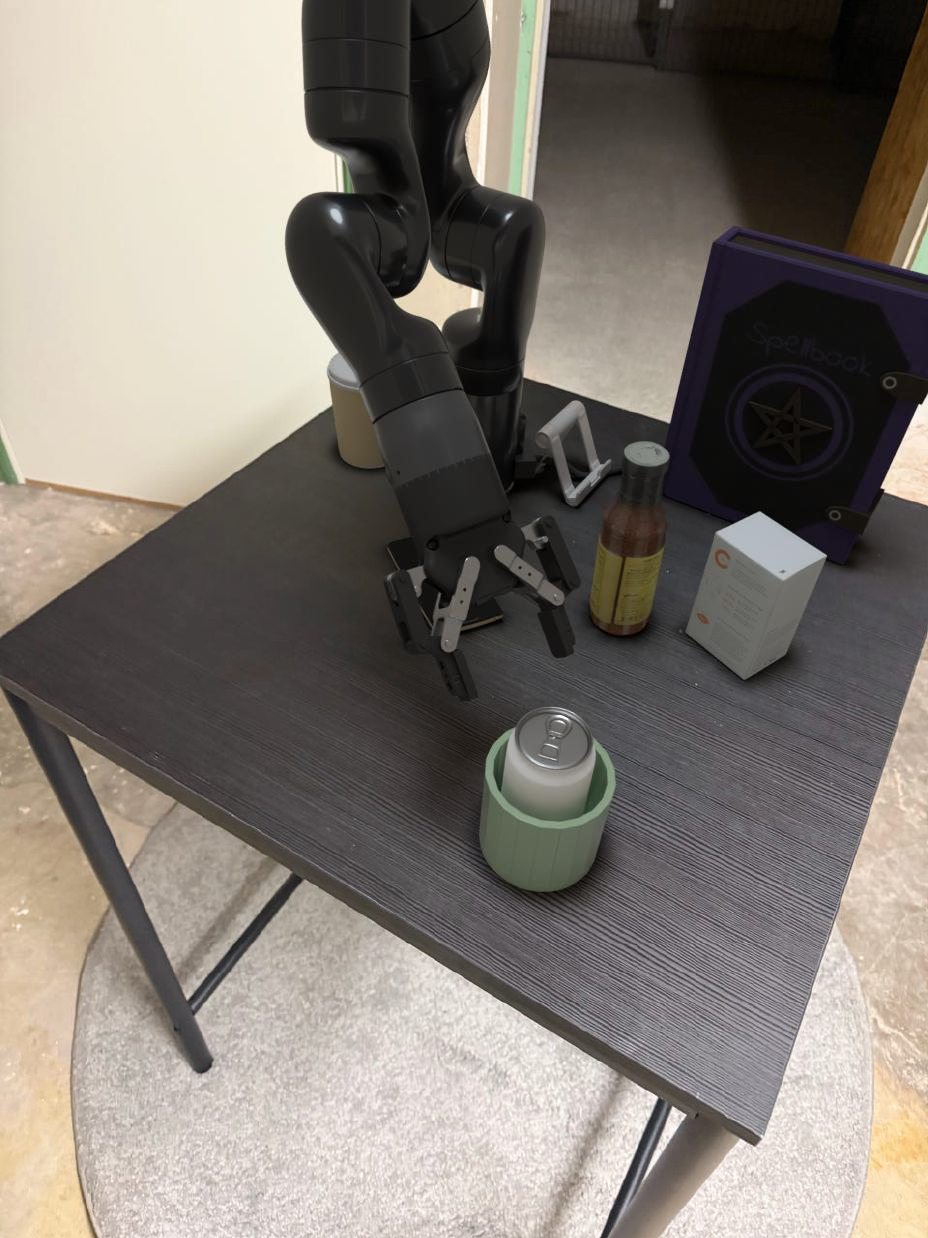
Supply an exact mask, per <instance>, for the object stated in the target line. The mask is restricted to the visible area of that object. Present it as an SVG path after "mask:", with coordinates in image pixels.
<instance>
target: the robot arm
mask: <svg viewBox="0 0 928 1238" xmlns="http://www.w3.org/2000/svg"><path fill="white" fill-rule="evenodd" d="M300 19H301V23H300V24H301V25H300V26H301V28H300V29H301V54H302V56H301V57H302V82H303V83H302V84H303V92H304V93H303V107H304V121H305V127H306V131H307V134H308V136H309V138H310V139H311V141H312V142H313V143H314V144H315V145H316V146H318V147H320V148H321V149H324V150H326V151H327V152H330V153H333V154H335V155H336V156H338V157H339V158H340V159H341V160H343V162H344V163H345V166H346V169H347V172H348V175H349V180H350V182H351V187H352V190H353V192H344V191H318V192H313V193H310V194H308V195H306V196H304V197H302V198H301V199H300V200H299V201H298V202H297V203H296V204H295V205H294V206H293V208H292V210H291V211H290V213H289V215H288V218H287V222H286V225H285V230H284V231H285V232H284V252H285V258H286V264H287V268H288V271H289V274H290V276H291V279H292V281H293V284H294V285H295V288H296V290H297V292H298V294H299V296H300V297H301V300H303V302H304V304H305V305H306V306H307V308H308V310H309V311H310V313H311V314H312V316H313V317H314V318H315V320H316V321H317V323H318V324H319V326H320V328H321V329H322V330H323V332H324V333H325V335H326V336H327V337H328V339H329V341H330V343H332V346H333V347H334V348H335V350H336V351H337V353H338V352H339V354H340V355H341V356H342V357H343V359H344V360H345V361H346V363H347V364H348V366H349V367H350V368H351V370H352V372H353V374H354V376H355V379H356V381H357V384H358V387H359V389H360V392H361V395H362V398H363V400H364V403H365V406H366V408H367V411H368V414H369V416H370V419H371V422H372V424H373V427H374V431H375V434H376V438H377V442H378V447H379V451H380V455H381V458H382V461H383V464H384V469H385V475H386V479H387V481H388V483H389V484H390V486H391V487H392V490H393V493H394V496H395V498H396V501H397V504H398V506H399V509H400V511H401V514H402V517H403V519H404V522H405V525H406V528H407V530H408V532H409V536H410V537H411V538H412V541H413V543H414V545H415V547H416V549H417V551H418V554H419V567H416V568H413V569H410V570H398V569H397V570H396V571H393V572H391V573H388V574H386V575H385V576H384V577H383V579H382V584H383V587H384V591H385V593H386V596H387V600H388V604H389V606H390V611H391V613H392V616H393V619H394V622H395V625H396V628H397V632H398V635H399V638H400V642H401V644H402V647H403V649H404V652H405V653H406V654H408V655H431V656H432V657H433V658H434V659H435V661H436V664H437V666H438V669H439V672H440V674H441V678H442V680H443V683H444V685H445V687H446V690H447V692H448V693H449V694H450V696H452V697H457V698H458V700H459V701H461V702H471V701H472V700H475V699H477V698H479V692H478V689H477V686H476V684H475V681H474V678H473V676H472V673H471V670H470V668H469V666H468V663H467V659H466V657H465V654H464V652H463V650H462V648H458V649H457V647H458V642H459V639H460V634H461V631H460V630H461V626H462V623H463V622H464V621H465V619H466V616H467V613H468V609H469V607H473V606H478V605H480V604H482V603H485V602H487V601H488V600H489V599H491V598H492V597H494V598H496V597H499V596H504V595H507V594H509V593H513V594H515V595H518V596H522V597H523V598H525V599H526V601H528V602H530V603H531V604H533V605H535V606H536V607H537V608H539V609H540V611H539V612H537V613H536V614H537V618H538V620H539V623H540V626H541V628H542V632H543V633H544V636H545V639H546V642H547V645H548V647H549V650H550V653H551V655H552V656H553V658H555V659H564V658H567V657H570V656H572V655H573V654H575V648H574V645H576V636H575V633H574V630H573V627H572V625H571V622H570V619H569V616H568V614H567V611H566V608H565V601H566V598H567V597H568V596H569V595H570V594H571V593H572V592H573V591H575V590H577V589H579V588H581V587H580V586H581V583H582V582H581V578H580V575H579V573H578V570H577V568H576V565H575V563H574V561H573V559H572V556H571V554H570V551H569V549H568V547H567V545H566V541H565V539H564V538H563V535H562V532H561V530H560V528H559V525H558V523H557V520H556V519H555V518H554V517H553V516H552V515H550V514H548V515H544V516H540V517H538V518H535V519H532V520H531V521H529V522H528V523H527V524H526V525H525V526H522V527H519V525H517V524H516V522H515V521H514V520H513V517H512V512H511V511H512V510H511V506H510V502H509V499H508V496H509V495H510V494H511V492H512V491H513V489H514V487H516V486H519V485H520V484H521V479H534V478H536V474H535V470H536V466H537V463H540V462H541V459H542V457H543V456H544V455H540V454H535V451H534V447H533V444H532V442H531V441H532V440H531V437H529V436H527V437H526V430H527V429H526V428H527V420H528V419H527V414H526V412H524V410H523V411H522V409H521V407H522V397H523V395H522V394H523V385H524V375H525V365H526V355H527V347H528V346H527V345H528V341H529V337H530V333H531V330H532V326H533V323H534V320H535V314H536V308H537V299H538V292H539V285H540V280H541V275H542V267H543V262H544V256H545V248H546V222H545V216H544V213H543V211H542V209H541V207H540V205H539V204H538V203H537V202H535V201H534V200H531V199H529V198H526V197H523V196H520V195H516V194H513V193H510V192H506V191H503V190H499V189H495V188H492V187H488V186H485V185H481V184H480V183H479V181H478V180H477V179H476V177H475V175H474V172H473V169H472V167H471V163H470V158H469V155H468V149H467V142H466V135H467V133H466V132H467V130H468V126H469V123H470V121H471V118H472V116H473V114H474V112H475V109H476V107H477V105H478V103H479V100H480V97H481V96H482V95H481V94H482V93H483V89H484V87H485V84H486V81H487V78H488V75H489V70H490V64H491V56H492V55H491V53H492V45H491V43H492V42H491V35H490V30H489V29H490V28H489V23H488V18H487V13H486V7H485V1H484V0H302V2H301V18H300ZM429 263H430V265H431V266H432V268H433V270H435V271H436V272H437V273H438V274H439V275H440V276H441V277H443V278H445V279H446V280H448V281H450V282H453V283H456V284H457V285H461V286H463V287H467V288H469V289H473V290H476V291H478V292H482V293H483V298H482V306H474V307H469V308H465V309H461V310H459V311H456V312H454V313H452V314H450V315H449V316H448V317H447V318H446V319H445V320H444V322H443V323H442V326H441V329H440V328H439V326H438V325H437V324H436V323H435V322H434V321H432V320H431V319H428V318H426V317H422V316H420V315H416V314H413V313H410V312H408V311H407V310H405V309H403V308H402V307H401V306H399V304H398V303H397V302H396V301H395V300H396V299H400V298H404V297H406V296H408V295H410V294H411V293H412V292H413V291H414V290H415V289H416V288H417V287H418V286H419V284H420V283H421V282H422V279H423V277H424V275H425V273H426V271H427V268H428V264H429ZM542 463H545V464H546V465H551V466H555V467H556V465H555V462H554V458H553V456H552V457H546V458H545V459H544V460H543V461H542ZM566 463H567V467H568V470H569V474H570V476H571V477H574V478H576V479H579V480H584V479H585V478H586V477H587V476H588V475H589V474H590V471H588V472H585V471H579V470H577V469H576V468H575V467H574V466H573V465H572V464H571V463H569V462H567V461H566ZM622 472H623V466H622V464H620V465H614V466H611V470H610V471H609V472H608V474H607V475H606V476H605V477H608V476H612V475H615V474H620V473H622ZM526 545H527V546H528V547H529V548H530V549H531V550H532V551H535V553H536V555H537V557H538V560H539V563H540V565H541V567H542V570H543V572H544V574H543V573H541V572H540V571H539V570H537V569H536V568H534V567H533V566H532V565H530V564H529V563H528V562H526V561H525V560H523V556H524V552H525V548H526ZM544 575H545V576H546V578H547V579H546V578H545V576H544ZM422 581H424V582H425V583H427V584H428V585H429V586H431V587H432V588H434V589H435V590H436V591H438V592H439V593H438V597H437V601H436V605H435V609H434V613H433V620H434V623H433V627H431V631H430V633H429V630H428V627H427V624H426V619H425V616H424V614H423V612H422V611H421V608H420V604H419V601H418V597H419V596H420V595H421V592H422V589H421V583H422ZM444 606H445V607H444Z"/></svg>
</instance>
